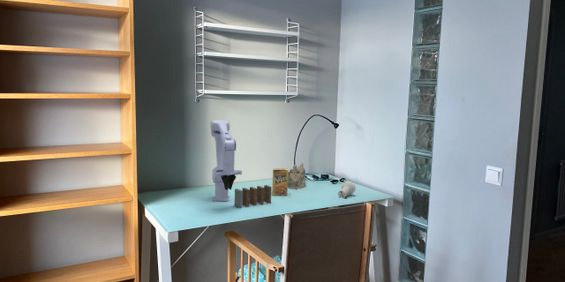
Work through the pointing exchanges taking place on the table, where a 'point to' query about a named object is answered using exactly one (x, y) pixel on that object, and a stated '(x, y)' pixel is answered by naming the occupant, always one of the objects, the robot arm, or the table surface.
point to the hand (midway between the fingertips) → (228, 189)
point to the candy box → (280, 181)
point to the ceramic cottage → (296, 177)
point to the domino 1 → (238, 198)
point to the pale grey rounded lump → (346, 189)
